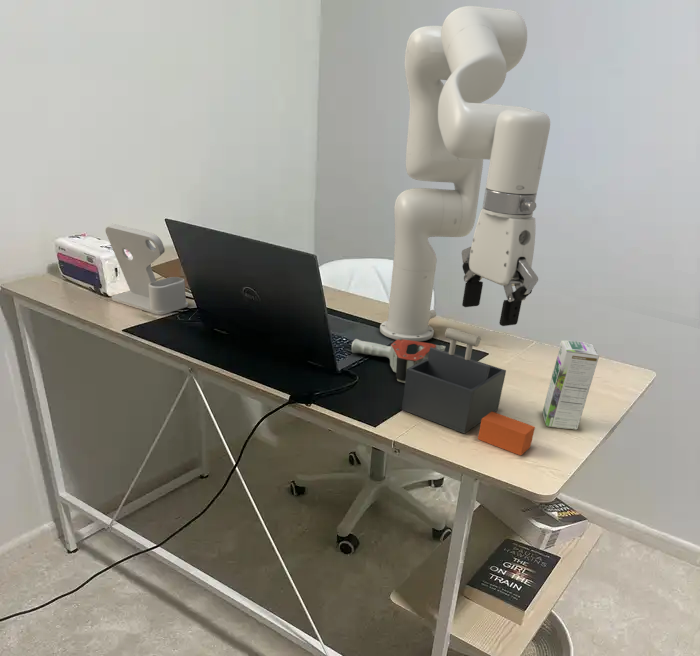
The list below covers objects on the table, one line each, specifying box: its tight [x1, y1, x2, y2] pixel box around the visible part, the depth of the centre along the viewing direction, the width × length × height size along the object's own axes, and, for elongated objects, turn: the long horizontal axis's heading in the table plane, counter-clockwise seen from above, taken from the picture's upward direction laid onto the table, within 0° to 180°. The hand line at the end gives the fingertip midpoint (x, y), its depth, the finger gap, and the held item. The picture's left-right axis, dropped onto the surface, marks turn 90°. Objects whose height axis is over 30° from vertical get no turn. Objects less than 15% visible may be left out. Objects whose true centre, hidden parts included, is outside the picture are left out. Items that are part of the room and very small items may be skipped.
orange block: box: [477, 412, 536, 457], centre depth 111 cm, size 4×8×4 cm, turn 53°
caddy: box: [401, 327, 507, 435], centre depth 117 cm, size 13×13×15 cm
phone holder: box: [105, 223, 189, 316], centre depth 156 cm, size 17×10×18 cm, turn 59°
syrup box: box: [541, 340, 600, 430], centre depth 117 cm, size 6×6×14 cm
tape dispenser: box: [351, 338, 447, 384], centre depth 136 cm, size 18×5×20 cm
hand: (488, 315), depth 107 cm, fingers open, 9 cm apart
